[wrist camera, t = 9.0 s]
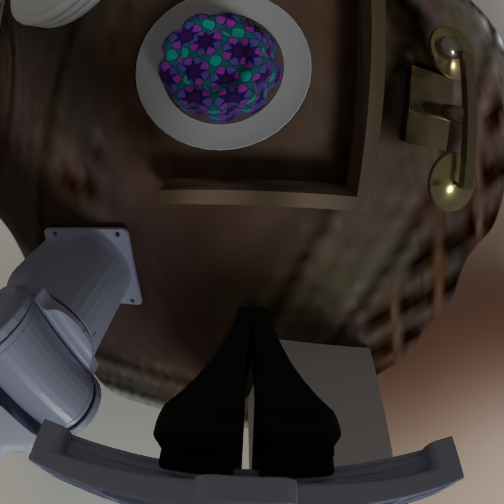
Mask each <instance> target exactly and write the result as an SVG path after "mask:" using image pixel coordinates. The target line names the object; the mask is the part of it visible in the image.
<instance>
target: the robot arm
mask: <svg viewBox="0 0 504 504" xmlns="http://www.w3.org/2000/svg"><path fill="white" fill-rule="evenodd" d="M55 232H56V233H57V234H56V233H55ZM116 232H118V233H119V234H120V235H118V234H117V233H116ZM44 234H45V237H46V240H45V241H44V242H43V243H42V244H40V245H39V246H38V247H37V248H36V249H35V250H34V251H33V252H32V253H31V254H30V255H29V256H28V257H27V258H26V259H25V260H24V261H23V262H22V263H21V264H20V265H19V266H18V267H17V268H16V269H15V270H14V271H13V273H12V274H11V276H10V278H9V281H8V283H7V286H6V287H4V288H2V289H1V290H0V461H1V460H2V459H3V458H4V457H5V456H6V454H7V453H8V452H22V453H30V455H29V460H30V461H32V462H33V463H35V464H36V465H37V466H39V467H40V468H42V469H43V470H45V471H46V472H48V473H49V474H51V475H52V476H54V477H56V478H58V479H60V480H62V481H64V482H67V483H69V484H72V485H73V486H76V487H78V488H81V489H83V490H85V491H88V492H90V493H93V494H95V495H98V496H100V497H103V498H106V499H109V500H111V501H114V502H117V503H120V504H407V503H410V502H414V501H417V500H420V499H423V498H425V497H428V496H431V495H434V494H436V493H438V492H440V491H442V490H444V489H446V488H447V487H449V486H451V485H453V484H454V483H456V482H458V481H460V480H461V479H463V477H464V475H463V472H462V468H461V464H460V461H459V457H458V454H457V450H456V447H455V444H454V441H453V438H452V437H451V436H450V437H447V438H444V439H440V440H437V441H434V442H432V443H430V444H428V445H427V446H426V447H424V449H423V450H420V451H416V452H412V453H409V454H404V455H400V456H396V457H391V458H386V459H381V460H376V461H370V462H364V463H358V464H351V465H343V466H335V467H334V461H333V456H334V455H335V452H334V446H335V445H336V443H337V442H338V440H339V439H340V437H341V429H340V425H339V422H338V419H337V417H336V415H335V412H334V411H333V410H332V409H331V408H330V407H329V406H327V405H326V404H325V403H324V402H323V401H322V400H321V399H320V398H319V397H318V396H317V395H316V394H315V393H314V392H313V390H312V389H311V388H310V387H309V386H308V384H307V383H306V382H305V381H304V380H303V378H302V377H301V376H300V374H299V373H298V372H297V370H296V369H295V367H294V366H293V364H292V363H291V361H290V359H289V358H288V356H287V354H286V352H285V350H284V349H283V347H282V345H281V343H280V340H279V338H278V336H277V334H276V331H275V329H274V326H273V323H272V320H271V317H270V312H269V309H268V308H263V307H239V308H238V312H237V315H236V318H235V320H234V322H233V324H232V327H231V329H230V330H229V332H228V334H227V336H226V338H225V340H224V341H223V343H222V344H221V346H220V348H219V349H218V351H217V352H216V354H215V355H214V356H213V358H212V359H211V360H210V362H209V363H208V364H207V365H206V367H205V368H204V369H203V370H202V371H201V372H200V373H199V375H198V376H197V377H196V378H195V379H194V380H193V381H192V382H191V383H190V384H188V385H187V386H186V387H185V388H184V389H183V390H182V391H181V392H180V393H178V394H177V395H176V396H175V397H173V398H172V399H171V400H169V401H168V402H167V403H165V404H164V406H163V408H162V410H161V412H160V414H159V416H158V419H157V421H156V425H155V429H154V433H153V434H154V437H155V439H156V441H157V442H158V444H159V445H160V447H161V448H162V449H161V454H160V458H159V459H157V458H152V457H147V456H143V455H138V454H134V453H130V452H126V451H122V450H119V449H115V448H111V447H108V446H105V445H101V444H98V443H95V442H92V441H89V440H86V439H83V438H80V437H77V436H75V434H77V433H79V432H81V431H82V430H83V429H84V428H86V427H87V426H88V424H89V423H90V422H91V421H92V419H93V418H94V416H95V414H96V413H97V410H98V408H99V405H100V401H101V388H100V385H99V383H98V381H97V379H96V378H95V377H94V374H95V371H96V369H97V367H98V362H97V361H96V359H95V357H94V354H95V352H96V350H97V348H98V346H99V344H100V342H101V340H102V338H103V336H104V334H105V332H106V330H107V328H108V326H109V324H110V322H111V320H112V319H113V317H114V315H115V313H116V311H117V309H118V307H119V305H120V303H124V304H135V305H140V304H141V303H142V301H143V298H142V294H141V290H140V285H139V281H138V276H137V272H136V267H135V262H134V257H133V252H132V247H131V241H130V235H129V231H128V230H127V229H126V228H123V227H48V228H46V229H45V231H44ZM132 299H134V300H132ZM251 357H252V369H253V385H254V421H253V445H252V466H251V469H242V450H243V431H244V412H245V398H246V390H247V384H248V377H249V371H250V364H251Z"/></svg>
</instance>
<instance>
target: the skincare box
mask: <svg viewBox="0 0 504 504" xmlns="http://www.w3.org/2000/svg"><path fill="white" fill-rule="evenodd" d="M4 4H5V0H0V27H1V20H2V14H3V8H4Z"/></svg>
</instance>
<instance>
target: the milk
mask: <svg viewBox="0 0 504 504" xmlns="http://www.w3.org/2000/svg"><path fill="white" fill-rule="evenodd" d="M279 340H280V343H281V345H282V347H283V349H284V350H285V352H286V354H287V356H288V358H289V359H290V361H291V363H292V364H293V366H294V367H295V369H296V370H297V372H298V373H299V374H300V376H301V377H302V378H303V380H304V381H305V382H306V383H307V384H308V386H309V387H310V388H311V389H312V390H313V392H314V393H315V394H316V395H317V396H318V397H319V398H320V399H321V400H322V401H323V402H324V403H325V404H326V405H327V406H329V407H330V408H331V409H332V410H333V411H334V412H335V415H336V417H337V419H338V422H339V425H340V429H341V437H340V439H339V440H338V442H337V443H336V445H335V446H334V452H335V455H334V456H333V461H334V467H335V466H343V465H351V464H358V463H364V462H370V461H376V460H381V459H386V458H391V457H392V456H393V455H392V449H391V444H390V438H389V432H388V427H387V422H386V417H385V412H384V407H383V403H382V398H381V394H380V389H379V385H378V381H377V376H376V372H375V368H374V364H373V360H372V356H371V352H370V349H369V348H362V347H349V346H336V345H325V344H315V343H306V342H297V341H289V340H281V339H279ZM253 421H254V385H253V386H252V389H251V391H250V394H249V397H248V422H249V469H251V466H252V445H253Z"/></svg>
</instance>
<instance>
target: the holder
mask: <svg viewBox="0 0 504 504" xmlns="http://www.w3.org/2000/svg"><path fill="white" fill-rule="evenodd" d="M385 67H386V0H358V43H357V72H356V89H355V104H354V116H353V127H352V137H351V146H350V155H349V163H348V171H347V179H346V184H337V183H325V182H311V181H296V180H276V179H250V178H170V179H169V180H168V181H167V182H166V183H165V184H164V186H163V187H162V188H161V189H160V190H159V193H160V203H161V204H218V205H256V206H282V207H303V208H321V209H337V210H351V211H365V212H368V210H369V204H370V199H371V193H372V187H373V181H374V175H375V169H376V162H377V155H378V147H379V139H380V131H381V121H382V111H383V99H384V86H385Z"/></svg>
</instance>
